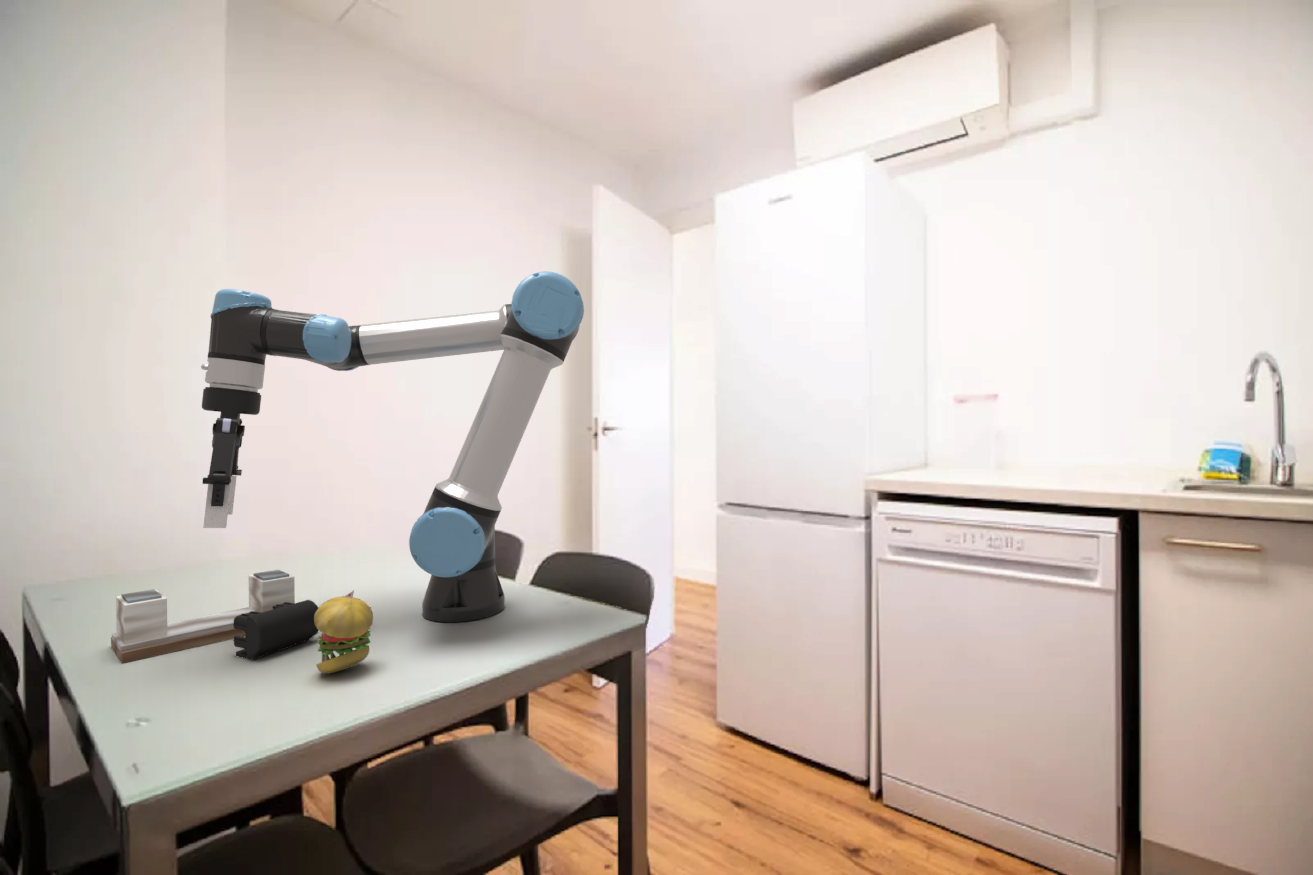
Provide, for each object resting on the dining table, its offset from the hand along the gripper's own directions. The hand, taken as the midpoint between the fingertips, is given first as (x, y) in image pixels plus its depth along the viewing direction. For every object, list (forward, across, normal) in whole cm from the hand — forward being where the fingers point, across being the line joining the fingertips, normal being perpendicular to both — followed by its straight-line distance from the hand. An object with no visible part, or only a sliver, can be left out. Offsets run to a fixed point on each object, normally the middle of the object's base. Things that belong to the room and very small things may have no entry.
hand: (218, 520), depth 92 cm
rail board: (+21, -9, 0) cm, 23 cm away
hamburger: (+18, +22, +18) cm, 34 cm away
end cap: (+20, +6, +10) cm, 23 cm away
